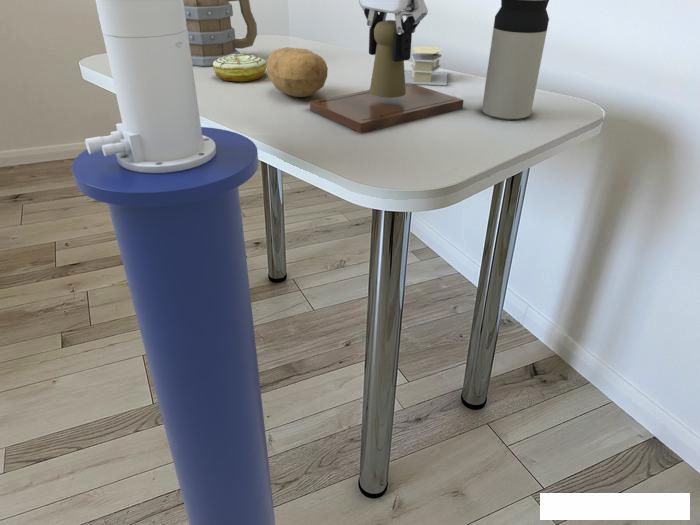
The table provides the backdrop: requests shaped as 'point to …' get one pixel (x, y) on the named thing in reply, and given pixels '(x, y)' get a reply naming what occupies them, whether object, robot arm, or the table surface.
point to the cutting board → (384, 107)
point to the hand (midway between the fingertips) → (389, 55)
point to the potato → (296, 71)
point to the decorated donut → (239, 67)
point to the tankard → (216, 29)
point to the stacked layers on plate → (426, 67)
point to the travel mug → (515, 58)
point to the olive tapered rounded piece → (387, 64)
